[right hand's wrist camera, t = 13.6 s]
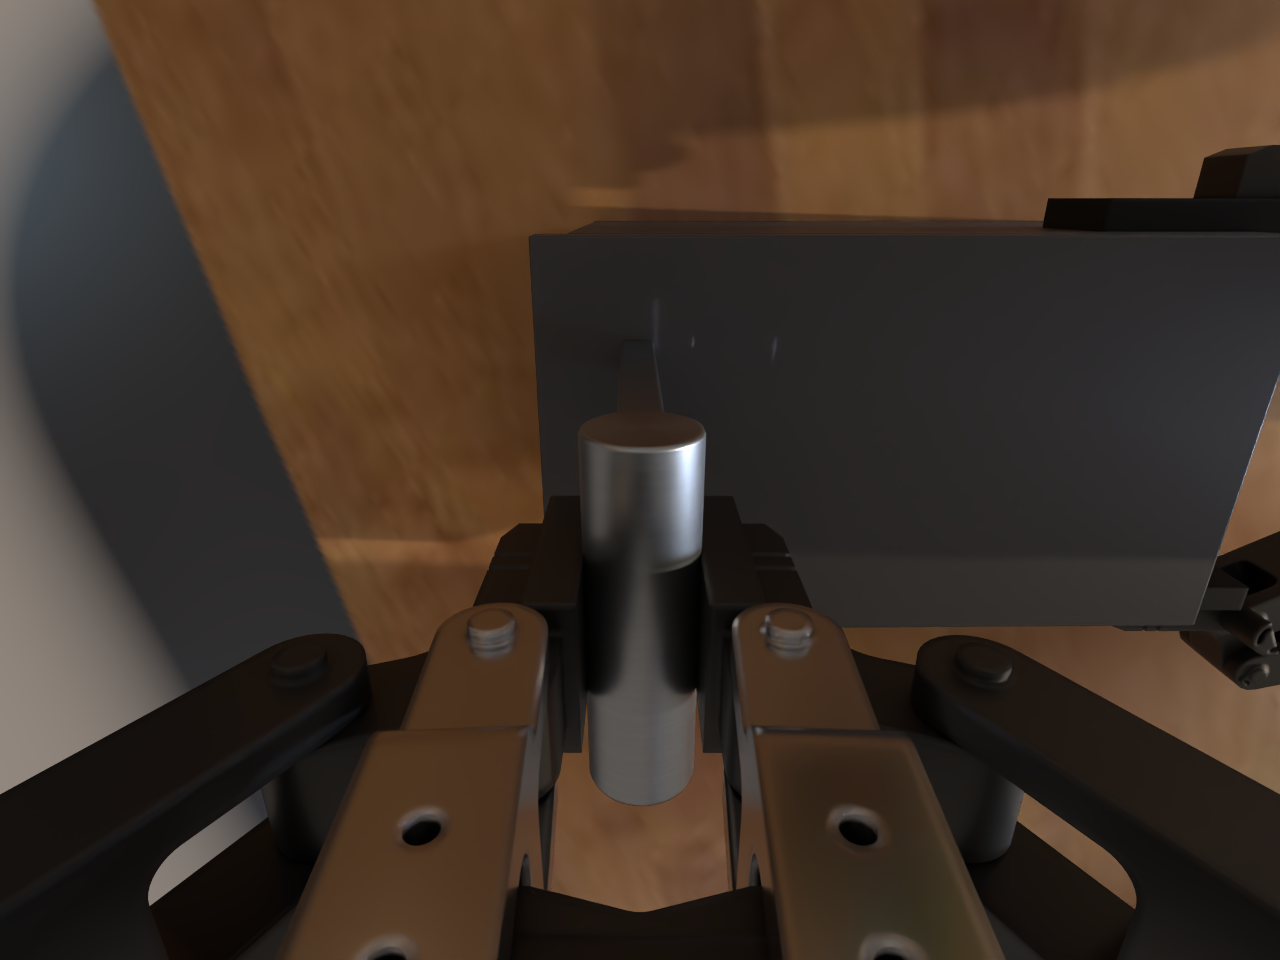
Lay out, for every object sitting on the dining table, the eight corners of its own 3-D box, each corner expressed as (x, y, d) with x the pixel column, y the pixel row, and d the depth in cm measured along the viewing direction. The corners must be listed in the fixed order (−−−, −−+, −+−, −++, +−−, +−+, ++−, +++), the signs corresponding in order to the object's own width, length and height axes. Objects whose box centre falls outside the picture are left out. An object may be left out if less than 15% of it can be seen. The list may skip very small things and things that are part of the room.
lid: (553, 611, 19) (498, 906, 11) (533, 233, 15) (431, 270, 7) (1170, 607, 19) (1550, 894, 11) (1291, 233, 16) (1976, 267, 8)
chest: (599, 478, 28) (579, 604, 19) (594, 221, 24) (565, 233, 16) (1006, 480, 28) (1169, 606, 19) (1060, 221, 24) (1290, 233, 16)
